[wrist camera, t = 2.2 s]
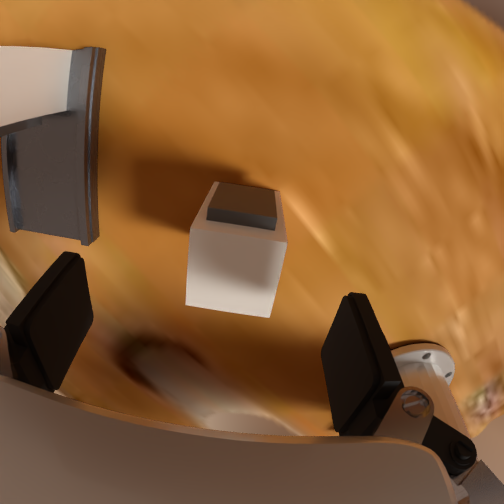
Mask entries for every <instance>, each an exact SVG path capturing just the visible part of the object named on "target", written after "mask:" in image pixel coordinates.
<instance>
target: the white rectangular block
mask: <svg viewBox="0 0 504 504" xmlns="http://www.w3.org/2000/svg"><path fill="white" fill-rule="evenodd" d="M287 243H288V242H287V235H286V228H285V222H284V215H283V209H282V203H281V196H280V191H274V190H269V189H263V188H256V187H250V186H244V185H237V184H231V183H224V182H216V181H215V182H214V183H213V185H212V187H211V189H210V191H209V193H208V195H207V196H206V198H205V200H204V202H203V204H202V206H201V208H200V210H199V212H198V214H197V216H196V218H195V219H194V221H193V223H192V225H191V227H190V238H189V252H188V268H187V286H186V305H189V306H195V307H201V308H207V309H213V310H219V311H226V312H232V313H239V314H246V315H253V316H260V317H267V318H270V314H271V310H272V306H273V302H274V298H275V294H276V290H277V286H278V281H279V277H280V273H281V269H282V265H283V261H284V256H285V252H286V248H287Z"/></svg>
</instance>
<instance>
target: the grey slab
mask: <svg viewBox="0 0 504 504" xmlns="http://www.w3.org/2000/svg"><path fill="white" fill-rule="evenodd" d="M105 54H106V49H104V48H97V47H86V48H84V49H80V50H72V56H71V64H70V72H69V82H68V94H67V108H66V111H63V112H58V113H53V114H48V115H44V116H42V125H39V126H35V127H31V128H28V129H25V130H21V131H18V132H15V133H11V134H8V135H5V136H2V137H1V151H2V168H3V180H4V190H5V199H6V207H7V214H8V220H9V226H10V232H17V231H18V230H19V229H21V230H27V231H32V232H38V233H43V234H49V235H54V236H60V237H66V238H71V239H77V240H81V245H85V246H89V245H90V244H91V243H92V242H94V241H95V240H96V239H97V238H98V237H99V221H98V196H97V150H98V125H99V109H100V97H101V87H102V77H103V69H104V61H105Z"/></svg>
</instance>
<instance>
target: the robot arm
mask: <svg viewBox="0 0 504 504" xmlns="http://www.w3.org/2000/svg"><path fill="white" fill-rule="evenodd" d="M92 322H93V310H92V305H91V300H90V294H89V289H88V283H87V276H86V270H85V263H84V260H83V258H81V257H80V255H79V254H78V253H73V252H67V251H65V252H63V253H62V254H61V255H60V256H59V257H58V259H57V260H56V261H55V262H54V263H53V264H52V265H51V266H50V268H49V269H48V270H47V271H46V272H45V273H44V274H43V276H42V277H41V278H40V279H39V280H38V282H37V283H36V284H35V285H34V286H33V287H32V289H31V290H30V291H29V292H28V294H27V295H26V296H25V297H24V299H23V300H22V301H21V302H20V304H19V305H18V306H17V307H16V309H15V310H14V311H13V313H12V314H11V315H10V317H9V318H8V319H7V321H6V324H7V325H6V326H5V328H4V329H3V328H2V327H1V326H0V504H504V485H503V484H502V482H501V481H500V480H499V479H498V478H497V477H496V476H495V475H494V473H493V472H492V471H491V470H490V469H489V468H488V467H487V466H486V465H485V463H484V462H483V461H482V460H480V461H479V460H478V458H477V452H476V448H475V445H474V444H473V442H472V441H471V438H470V436H469V433H468V431H467V428H466V426H465V423H464V421H463V418H462V416H461V413H460V411H459V409H458V406H457V404H456V402H455V399H454V397H453V395H452V393H451V390H450V388H449V384H450V383H451V380H452V378H453V376H454V372H455V363H454V361H453V359H452V357H451V355H450V353H449V352H448V350H446V349H445V348H444V347H442V346H439V345H436V344H430V343H420V344H412V345H407V346H403V347H399V348H397V349H394V350H390V348H389V345H388V343H387V340H386V338H385V335H384V334H383V332H382V330H381V328H380V325H379V323H378V321H377V318H376V316H375V313H374V311H373V309H372V307H371V304H370V302H369V300H368V297H367V296H366V294H362V293H353V292H350V293H349V294H348V296H344V297H343V299H342V301H341V304H340V306H339V309H338V311H337V314H336V316H335V318H334V321H333V323H332V326H331V328H330V330H329V333H328V335H327V338H326V340H325V342H324V344H323V347H322V350H321V358H322V364H323V369H324V374H325V379H326V385H327V390H328V396H329V401H330V407H331V413H332V419H333V424H334V429H335V431H336V432H339V436H277V435H261V434H248V433H237V432H227V431H218V430H210V429H203V428H196V427H189V426H183V425H177V424H171V423H166V422H160V421H155V420H150V419H146V418H141V417H136V416H132V415H128V414H124V413H120V412H116V411H112V410H108V409H104V408H100V407H97V406H93V405H90V404H86V403H83V402H80V401H76V400H73V399H70V398H67V397H64V396H61V395H58V394H55V393H54V391H55V390H58V389H59V387H60V386H61V383H62V381H63V379H64V377H65V375H66V373H67V371H68V369H69V367H70V365H71V363H72V361H73V359H74V357H75V355H76V353H77V351H78V349H79V347H80V345H81V343H82V341H83V339H84V338H85V336H86V334H87V332H88V330H89V328H90V326H91V325H92Z"/></svg>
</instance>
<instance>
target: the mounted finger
mask: <svg viewBox="0 0 504 504" xmlns="http://www.w3.org/2000/svg"><path fill="white" fill-rule="evenodd" d="M71 56H72V50H64V49H53V48H41V47H22V46H0V137H2V136H5V135H8V134H11V133H15V132H18V131H21V130H25V129H28V128H31V127H35V126H39V125H42V116H44V115H48V114H53V113H58V112H63V111H66V108H67V94H68V82H69V72H70V64H71Z"/></svg>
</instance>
